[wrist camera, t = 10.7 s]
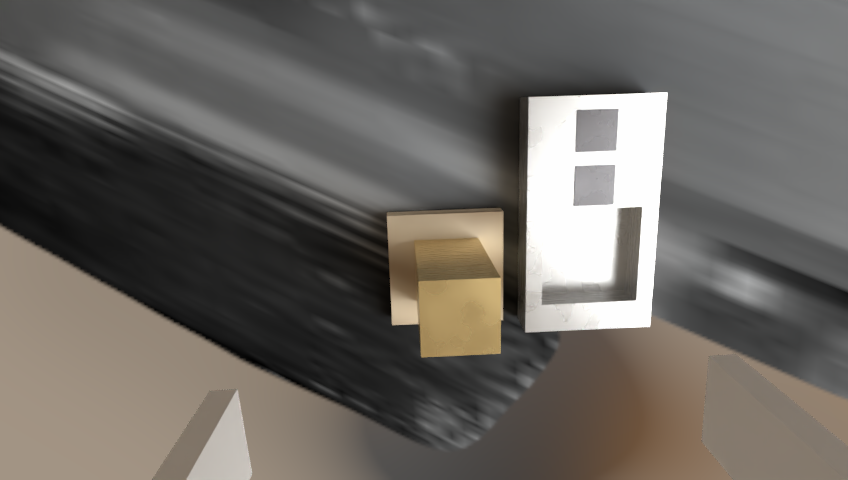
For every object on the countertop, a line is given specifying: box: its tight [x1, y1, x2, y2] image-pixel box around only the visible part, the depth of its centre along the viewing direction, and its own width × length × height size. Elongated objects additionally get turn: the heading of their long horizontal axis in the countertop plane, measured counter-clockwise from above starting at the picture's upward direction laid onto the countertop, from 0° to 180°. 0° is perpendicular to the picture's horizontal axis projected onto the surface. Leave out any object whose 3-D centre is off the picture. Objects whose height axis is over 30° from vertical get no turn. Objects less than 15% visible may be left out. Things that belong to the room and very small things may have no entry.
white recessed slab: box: [517, 93, 667, 332], centre depth 43 cm, size 18×10×3 cm, turn 2°
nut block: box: [414, 238, 501, 357], centre depth 39 cm, size 5×5×10 cm
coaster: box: [387, 208, 503, 325], centre depth 44 cm, size 9×9×2 cm
